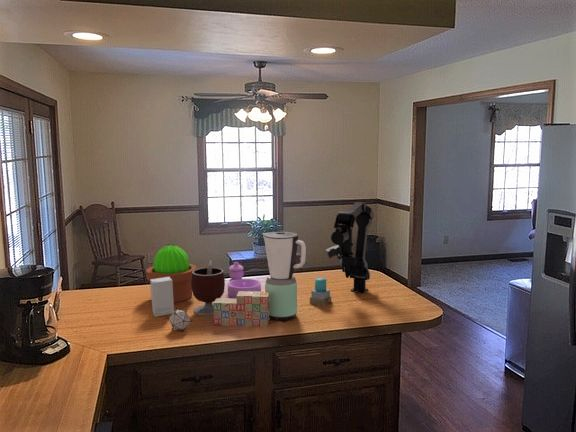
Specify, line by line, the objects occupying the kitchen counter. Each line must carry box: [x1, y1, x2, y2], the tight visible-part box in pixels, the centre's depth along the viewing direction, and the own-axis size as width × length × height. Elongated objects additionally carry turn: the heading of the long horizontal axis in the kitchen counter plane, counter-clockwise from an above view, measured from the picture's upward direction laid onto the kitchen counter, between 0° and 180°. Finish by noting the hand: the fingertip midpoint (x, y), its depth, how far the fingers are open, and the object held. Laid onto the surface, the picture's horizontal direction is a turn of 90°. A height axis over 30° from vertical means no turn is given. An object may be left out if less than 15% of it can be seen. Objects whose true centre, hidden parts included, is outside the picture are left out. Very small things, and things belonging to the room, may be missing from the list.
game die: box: [166, 307, 193, 333], centre depth 186 cm, size 9×8×10 cm
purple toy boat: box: [227, 261, 262, 299], centre depth 231 cm, size 25×15×13 cm, turn 21°
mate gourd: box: [191, 259, 226, 316], centre depth 208 cm, size 16×14×20 cm
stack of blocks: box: [212, 291, 270, 328], centre depth 193 cm, size 21×6×12 cm, turn 86°
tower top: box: [310, 288, 331, 300], centre depth 218 cm, size 6×6×3 cm
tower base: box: [309, 295, 332, 307], centre depth 219 cm, size 7×7×3 cm
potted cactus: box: [145, 244, 198, 303], centre depth 225 cm, size 22×22×25 cm
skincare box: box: [150, 277, 175, 317], centre depth 204 cm, size 8×6×15 cm
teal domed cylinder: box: [314, 277, 327, 292], centre depth 218 cm, size 5×5×5 cm
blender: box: [261, 231, 307, 322], centre depth 198 cm, size 19×13×35 cm
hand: (345, 274), depth 217 cm, fingers open, 9 cm apart
